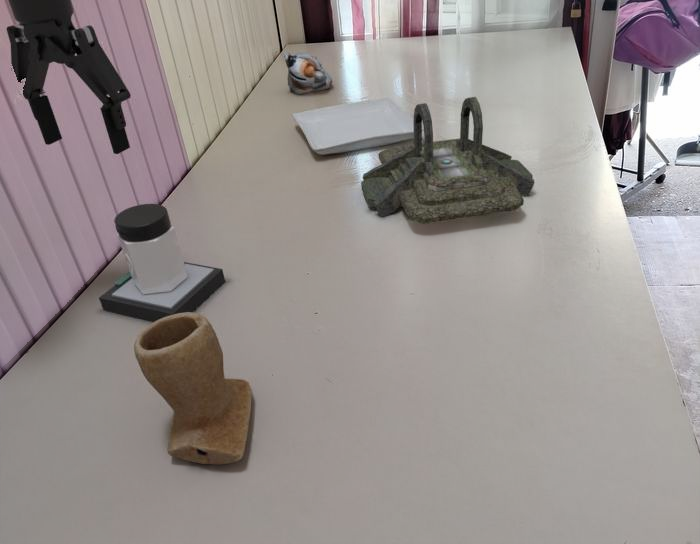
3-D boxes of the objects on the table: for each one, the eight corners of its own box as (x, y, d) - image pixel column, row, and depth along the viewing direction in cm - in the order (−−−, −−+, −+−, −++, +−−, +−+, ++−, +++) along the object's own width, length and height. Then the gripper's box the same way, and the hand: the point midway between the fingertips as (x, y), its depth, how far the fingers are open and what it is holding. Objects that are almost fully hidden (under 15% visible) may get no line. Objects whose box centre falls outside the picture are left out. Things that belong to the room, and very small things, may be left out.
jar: (128, 278, 107) (105, 213, 99) (173, 262, 110) (154, 197, 103) (147, 301, 101) (124, 233, 93) (194, 282, 104) (176, 216, 97)
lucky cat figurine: (341, 85, 195) (336, 48, 182) (318, 111, 192) (311, 75, 179) (303, 66, 199) (295, 28, 186) (279, 91, 196) (270, 55, 183)
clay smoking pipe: (173, 391, 87) (143, 300, 78) (258, 385, 87) (238, 293, 78) (147, 476, 76) (107, 381, 66) (246, 469, 75) (220, 373, 66)
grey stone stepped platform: (559, 217, 118) (573, 119, 107) (382, 243, 116) (377, 145, 104) (496, 150, 145) (502, 66, 134) (352, 169, 143) (345, 86, 132)
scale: (102, 310, 105) (97, 295, 103) (155, 267, 115) (151, 253, 113) (176, 327, 100) (171, 312, 98) (225, 281, 109) (221, 266, 108)
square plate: (292, 127, 169) (290, 112, 166) (390, 110, 173) (389, 95, 171) (314, 163, 148) (312, 146, 145) (425, 143, 152) (425, 127, 150)
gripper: (128, -20, 80) (168, 145, 93) (-9, -21, 89) (45, 129, 103) (86, -9, 75) (135, 164, 88) (-55, -11, 84) (8, 146, 97)
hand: (87, 146), depth 95 cm, fingers open, 13 cm apart
